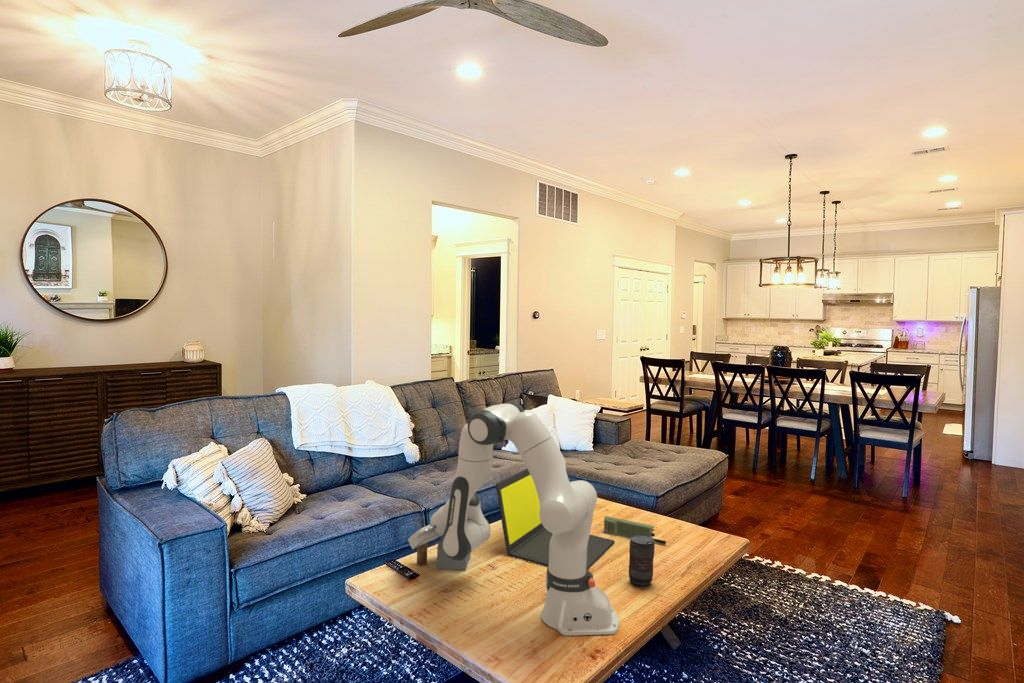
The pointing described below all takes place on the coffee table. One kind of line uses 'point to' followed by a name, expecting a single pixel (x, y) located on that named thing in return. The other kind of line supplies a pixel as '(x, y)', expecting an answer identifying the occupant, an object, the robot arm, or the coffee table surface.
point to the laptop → (532, 523)
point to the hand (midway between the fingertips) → (422, 542)
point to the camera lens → (641, 561)
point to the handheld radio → (628, 528)
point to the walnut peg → (422, 555)
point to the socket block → (450, 560)
